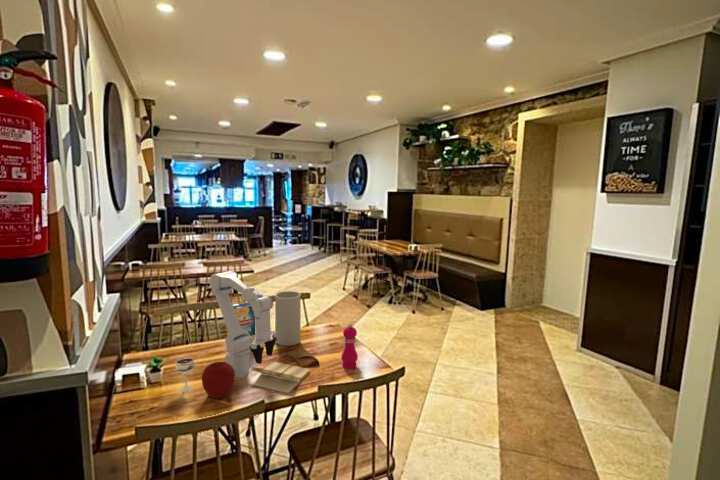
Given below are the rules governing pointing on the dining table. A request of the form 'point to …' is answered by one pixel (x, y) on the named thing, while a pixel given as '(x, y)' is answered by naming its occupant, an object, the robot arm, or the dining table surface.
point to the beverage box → (246, 318)
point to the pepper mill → (349, 348)
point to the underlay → (273, 382)
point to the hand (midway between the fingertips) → (264, 359)
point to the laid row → (288, 369)
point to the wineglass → (185, 370)
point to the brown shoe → (303, 358)
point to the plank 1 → (263, 371)
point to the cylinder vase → (288, 317)
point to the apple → (218, 379)
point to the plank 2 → (286, 376)
